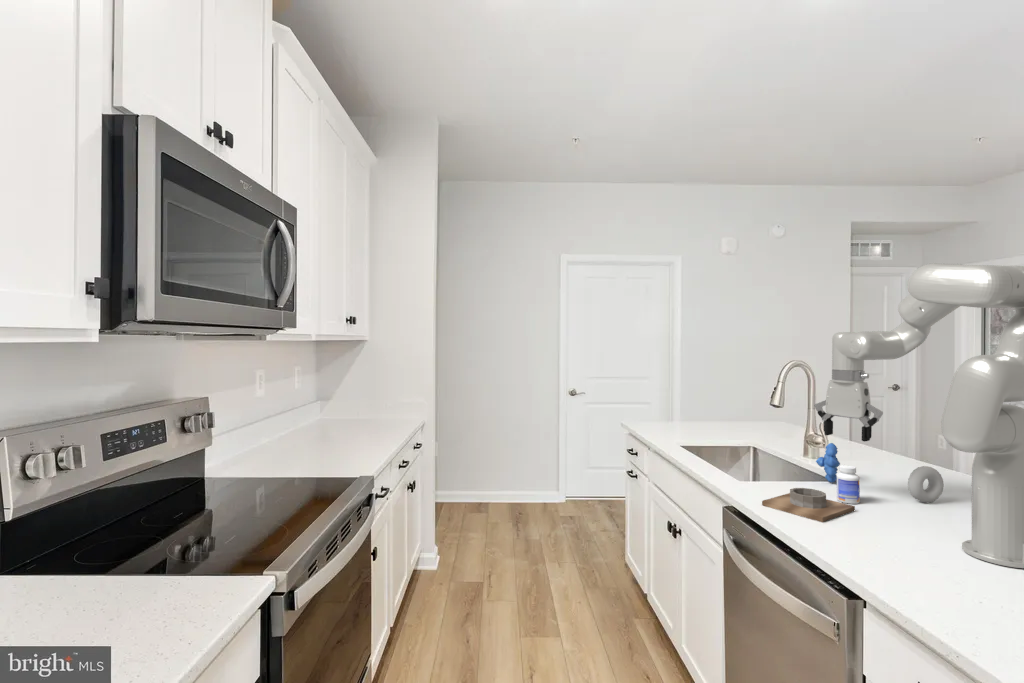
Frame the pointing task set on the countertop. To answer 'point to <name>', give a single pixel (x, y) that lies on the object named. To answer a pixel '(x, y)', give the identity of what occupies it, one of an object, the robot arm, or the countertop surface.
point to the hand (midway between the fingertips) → (846, 437)
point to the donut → (933, 484)
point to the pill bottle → (848, 485)
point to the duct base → (809, 512)
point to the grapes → (829, 462)
